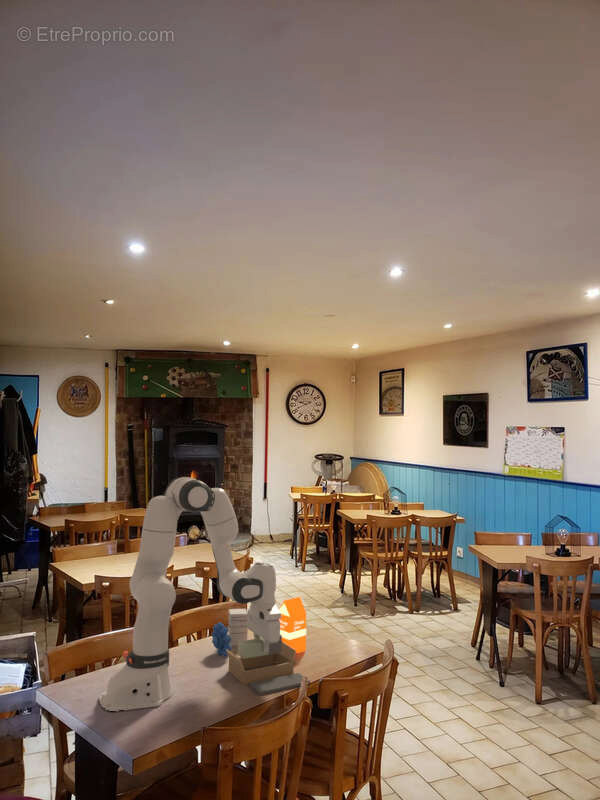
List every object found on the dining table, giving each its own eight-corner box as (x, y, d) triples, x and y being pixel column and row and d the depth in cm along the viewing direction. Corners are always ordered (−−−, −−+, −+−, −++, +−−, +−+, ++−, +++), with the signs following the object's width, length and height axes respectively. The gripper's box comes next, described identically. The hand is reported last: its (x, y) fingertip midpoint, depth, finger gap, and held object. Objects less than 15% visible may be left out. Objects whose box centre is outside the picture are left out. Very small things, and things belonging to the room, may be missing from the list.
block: (243, 658, 210) (243, 641, 210) (237, 654, 213) (238, 637, 214) (281, 652, 217) (281, 635, 217) (275, 648, 221) (276, 631, 221)
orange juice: (276, 650, 237) (276, 598, 238) (293, 645, 243) (293, 594, 244) (289, 656, 231) (290, 602, 232) (306, 650, 237) (306, 598, 238)
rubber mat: (259, 695, 196) (259, 692, 196) (248, 686, 203) (249, 683, 203) (309, 684, 205) (309, 681, 205) (298, 675, 212) (298, 672, 212)
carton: (240, 685, 204) (240, 661, 204) (225, 671, 215) (225, 649, 216) (296, 673, 215) (296, 650, 215) (279, 660, 226) (279, 639, 227)
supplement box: (227, 640, 248) (228, 608, 249) (245, 639, 250) (246, 608, 250) (229, 646, 241) (229, 614, 242) (247, 645, 242) (248, 613, 243)
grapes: (203, 653, 233) (204, 621, 234) (218, 649, 237) (218, 618, 238) (220, 662, 224) (220, 629, 225) (235, 658, 228) (235, 625, 229)
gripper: (242, 602, 224) (241, 640, 223) (267, 617, 206) (266, 659, 205) (258, 600, 227) (257, 638, 226) (283, 615, 209) (282, 656, 208)
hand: (261, 648), depth 216 cm, fingers closed on block, 4 cm apart
